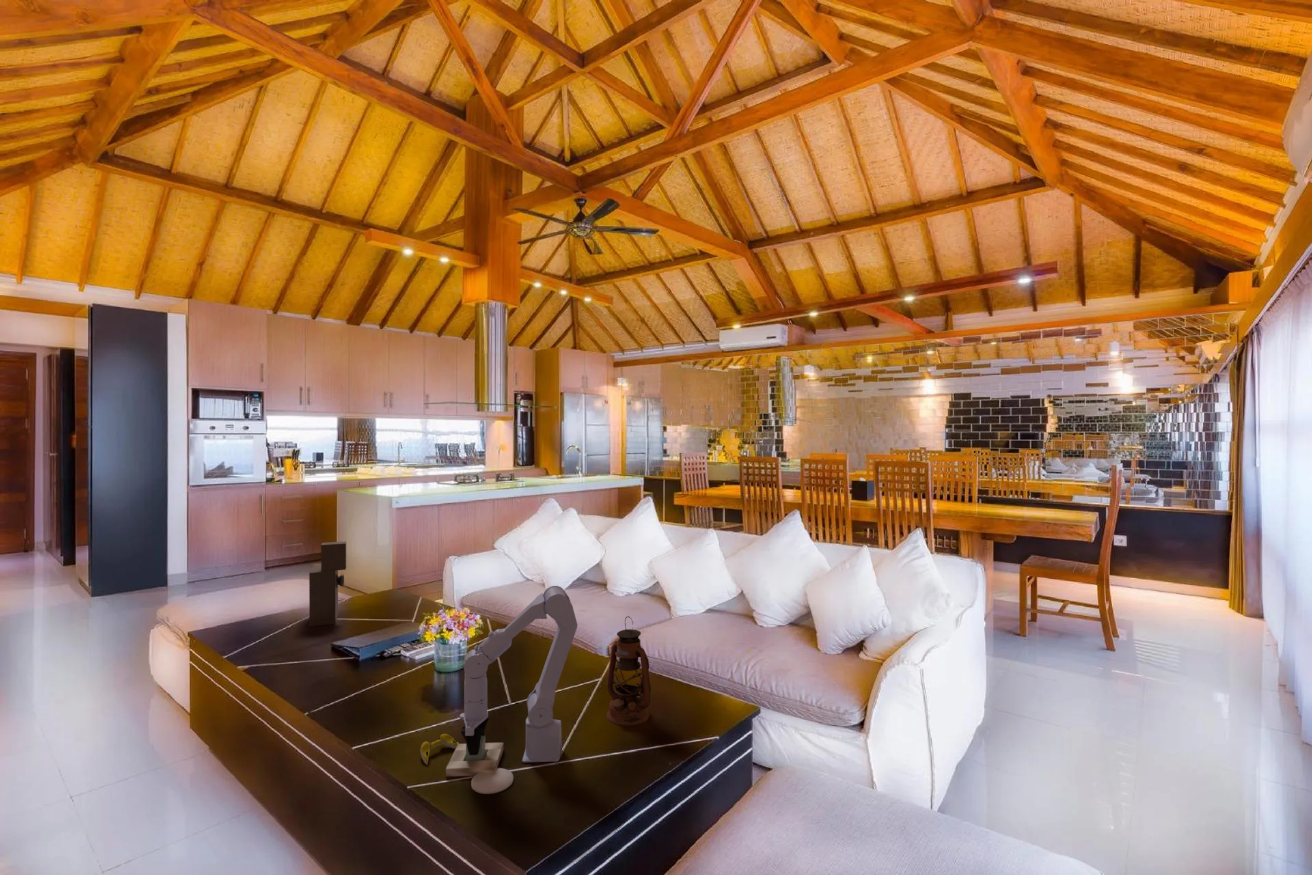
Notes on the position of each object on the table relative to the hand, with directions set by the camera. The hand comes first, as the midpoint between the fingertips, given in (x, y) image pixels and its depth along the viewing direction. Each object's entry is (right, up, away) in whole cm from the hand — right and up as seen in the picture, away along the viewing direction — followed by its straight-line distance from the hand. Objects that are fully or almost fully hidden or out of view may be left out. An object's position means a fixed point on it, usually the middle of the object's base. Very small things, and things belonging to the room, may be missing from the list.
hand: (475, 749), depth 160 cm
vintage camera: (-102, -1, +118) cm, 156 cm away
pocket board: (0, -3, 0) cm, 3 cm away
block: (0, -3, 0) cm, 3 cm away
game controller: (-11, -4, +5) cm, 13 cm away
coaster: (+7, -4, -9) cm, 11 cm away
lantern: (+38, -3, +27) cm, 47 cm away
